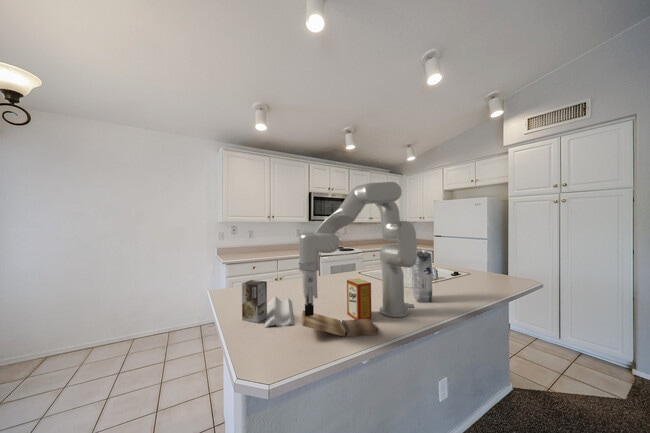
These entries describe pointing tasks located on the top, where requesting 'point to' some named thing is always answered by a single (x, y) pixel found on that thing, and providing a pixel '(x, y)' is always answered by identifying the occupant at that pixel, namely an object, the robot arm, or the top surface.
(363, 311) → the baking soda box
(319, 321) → the oak plank
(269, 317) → the crown molding
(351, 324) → the walnut board
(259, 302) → the coffee box
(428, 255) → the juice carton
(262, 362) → the top surface
